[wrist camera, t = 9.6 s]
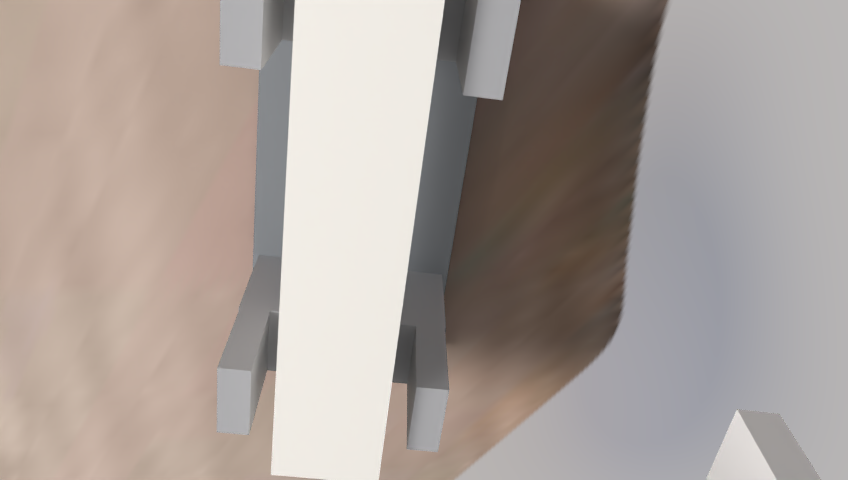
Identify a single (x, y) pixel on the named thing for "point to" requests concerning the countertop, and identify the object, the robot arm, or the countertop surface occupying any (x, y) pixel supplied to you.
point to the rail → (348, 226)
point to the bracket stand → (435, 212)
